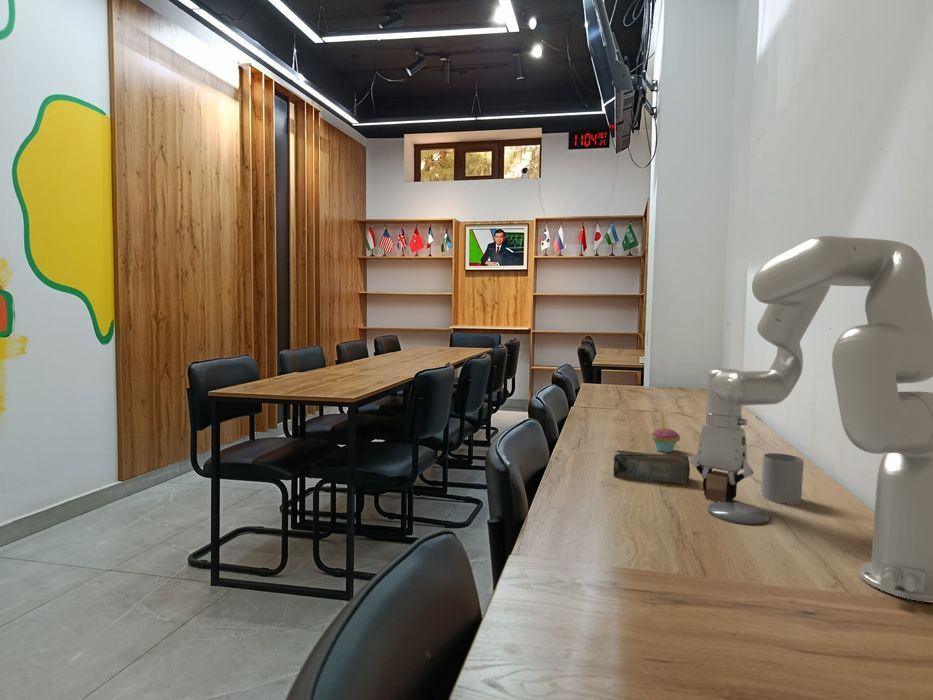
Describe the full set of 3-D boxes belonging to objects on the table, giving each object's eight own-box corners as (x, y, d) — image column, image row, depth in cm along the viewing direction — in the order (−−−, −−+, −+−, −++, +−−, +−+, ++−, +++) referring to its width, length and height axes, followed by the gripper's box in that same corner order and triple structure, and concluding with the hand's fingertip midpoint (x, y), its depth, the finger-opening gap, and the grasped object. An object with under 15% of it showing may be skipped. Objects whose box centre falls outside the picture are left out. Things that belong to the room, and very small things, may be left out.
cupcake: (645, 448, 184) (647, 412, 183) (665, 446, 187) (666, 411, 187) (664, 454, 176) (666, 416, 175) (685, 452, 180) (686, 415, 179)
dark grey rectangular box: (615, 470, 158) (616, 447, 157) (688, 478, 151) (689, 454, 151) (612, 477, 150) (613, 453, 150) (689, 486, 144) (690, 461, 143)
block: (725, 503, 131) (726, 477, 130) (705, 498, 134) (706, 473, 133) (732, 499, 134) (733, 474, 133) (713, 494, 137) (714, 470, 137)
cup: (806, 505, 130) (809, 463, 130) (768, 502, 132) (770, 460, 131) (793, 494, 139) (795, 454, 138) (757, 491, 140) (759, 452, 140)
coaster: (757, 529, 115) (757, 525, 115) (698, 513, 123) (699, 510, 123) (776, 515, 123) (776, 511, 123) (720, 501, 132) (720, 498, 132)
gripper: (767, 424, 129) (762, 502, 130) (694, 414, 141) (690, 485, 142) (756, 428, 124) (751, 510, 125) (681, 417, 136) (677, 491, 137)
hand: (719, 496), depth 134 cm, fingers closed on block, 4 cm apart
